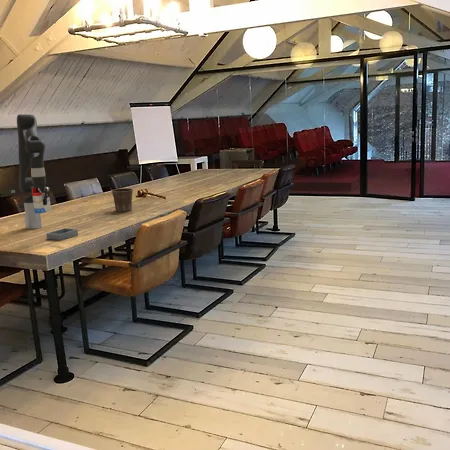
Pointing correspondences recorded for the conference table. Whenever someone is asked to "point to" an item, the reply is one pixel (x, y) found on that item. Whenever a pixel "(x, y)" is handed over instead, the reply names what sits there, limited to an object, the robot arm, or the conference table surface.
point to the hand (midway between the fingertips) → (41, 204)
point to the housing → (62, 234)
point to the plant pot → (123, 199)
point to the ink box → (40, 203)
